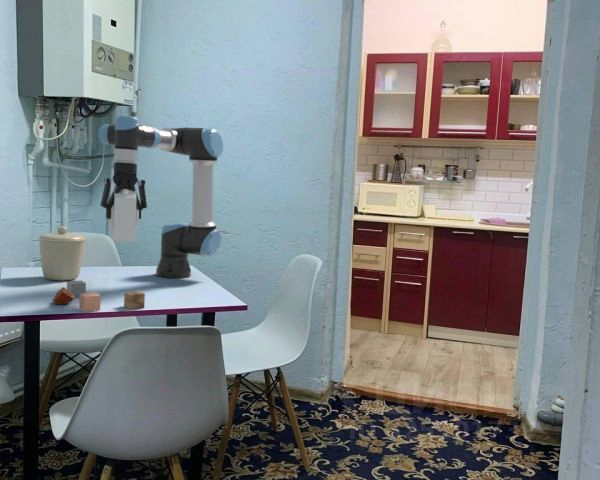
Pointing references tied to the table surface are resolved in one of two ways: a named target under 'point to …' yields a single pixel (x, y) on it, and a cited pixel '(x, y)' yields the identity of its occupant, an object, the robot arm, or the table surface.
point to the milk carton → (124, 215)
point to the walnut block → (134, 299)
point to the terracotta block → (89, 301)
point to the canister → (61, 254)
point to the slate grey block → (76, 287)
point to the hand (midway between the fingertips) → (123, 228)
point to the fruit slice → (63, 296)
